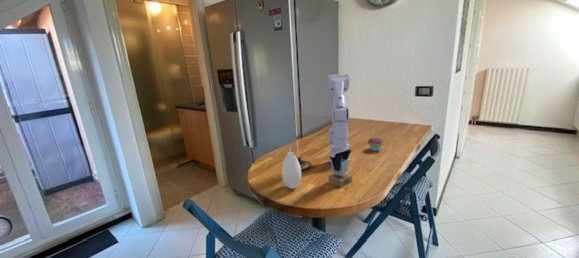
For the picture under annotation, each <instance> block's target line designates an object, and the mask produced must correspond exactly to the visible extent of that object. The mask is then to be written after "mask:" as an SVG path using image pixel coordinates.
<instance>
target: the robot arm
mask: <svg viewBox="0 0 579 258" xmlns="http://www.w3.org/2000/svg"><path fill="white" fill-rule="evenodd" d="M349 86H350V75H349V74H348V73H341V74H328V75H327V87H328V92H329V93H331V94H332V95H333V98H332V110H331V121H332V126H331V127H330V128H329V129H328V144H329V145H330V150H329V154H328V157H329V159H328V160H327V162H329V163H331V161H332V163H333V166H334V170H336V171H340V166H341V161H342V159H346V160H348V162H349V161H351V160H352V158H350V156H351V155H350V154H351V153H352V149H350V148H351V143H350V142H349V141H350V140H349V138H350V137H349V130H348V128H349V127H348V124H349V123H348V122H349V121H350V111H349V106H348V105H347V101H348V100H347V97H346V96H345V95H344V93H346V92H348V90H349Z"/></svg>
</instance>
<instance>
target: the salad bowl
mask: <svg viewBox="0 0 579 258" xmlns="http://www.w3.org/2000/svg"><path fill="white" fill-rule="evenodd" d="M295 154H296V155H295ZM294 155H295V156H296V158H297V159H298V161H299V164H300V167H301V171H302V170H306V169H307V168H309V167H310V166H312V163H311V162H310V161H308V160H305V159H302V156H301V155H299V154H298V155H297V153H296V152H294Z"/></svg>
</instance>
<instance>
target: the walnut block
mask: <svg viewBox="0 0 579 258" xmlns="http://www.w3.org/2000/svg"><path fill="white" fill-rule="evenodd" d="M352 182H353V175H350V174H348V173H344V174H343V175H340V174H336V173H332V174H330V175H328V183H330V184H332V185H335V186H337V187H340V188H344V187H345V186H347V185H349V184H351V183H352Z"/></svg>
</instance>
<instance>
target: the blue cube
mask: <svg viewBox="0 0 579 258" xmlns="http://www.w3.org/2000/svg"><path fill="white" fill-rule="evenodd" d="M330 163H331V164H330V165H331V173H332V174H334V173H336V174H340V175H343V174H344V173H345V174H347V172H348V171H349V161H348V160H346V159H342V161H341V166H340V171H336V170H334V166H333V163H332V161H331V162H330Z"/></svg>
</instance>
